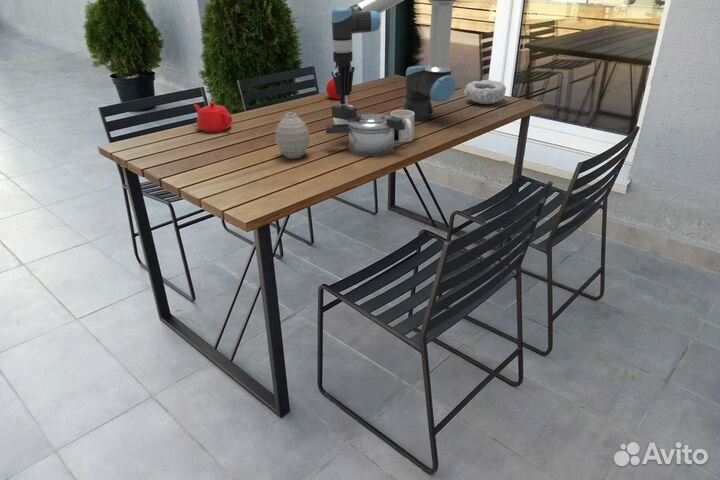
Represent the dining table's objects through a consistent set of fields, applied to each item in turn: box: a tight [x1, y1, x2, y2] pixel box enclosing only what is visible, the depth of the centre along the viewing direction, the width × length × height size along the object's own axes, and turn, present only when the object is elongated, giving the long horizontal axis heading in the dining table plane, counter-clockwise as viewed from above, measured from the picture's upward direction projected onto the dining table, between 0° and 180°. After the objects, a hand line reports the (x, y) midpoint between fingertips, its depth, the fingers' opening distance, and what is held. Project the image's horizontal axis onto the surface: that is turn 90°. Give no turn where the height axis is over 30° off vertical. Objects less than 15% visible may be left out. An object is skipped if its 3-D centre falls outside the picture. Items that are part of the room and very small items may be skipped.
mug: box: [390, 109, 415, 143], centre depth 225 cm, size 10×12×11 cm
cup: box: [332, 104, 354, 125], centre depth 241 cm, size 8×12×10 cm
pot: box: [325, 121, 405, 157], centre depth 216 cm, size 31×19×10 cm, turn 96°
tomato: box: [326, 78, 340, 100], centre depth 288 cm, size 12×12×10 cm
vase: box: [275, 112, 310, 160], centre depth 209 cm, size 13×13×17 cm
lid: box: [331, 104, 402, 131], centre depth 214 cm, size 31×19×5 cm, turn 56°
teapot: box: [193, 101, 233, 133], centre depth 244 cm, size 25×16×12 cm, turn 53°
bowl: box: [463, 79, 507, 105], centre depth 274 cm, size 21×20×10 cm
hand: (344, 111), depth 222 cm, fingers closed
